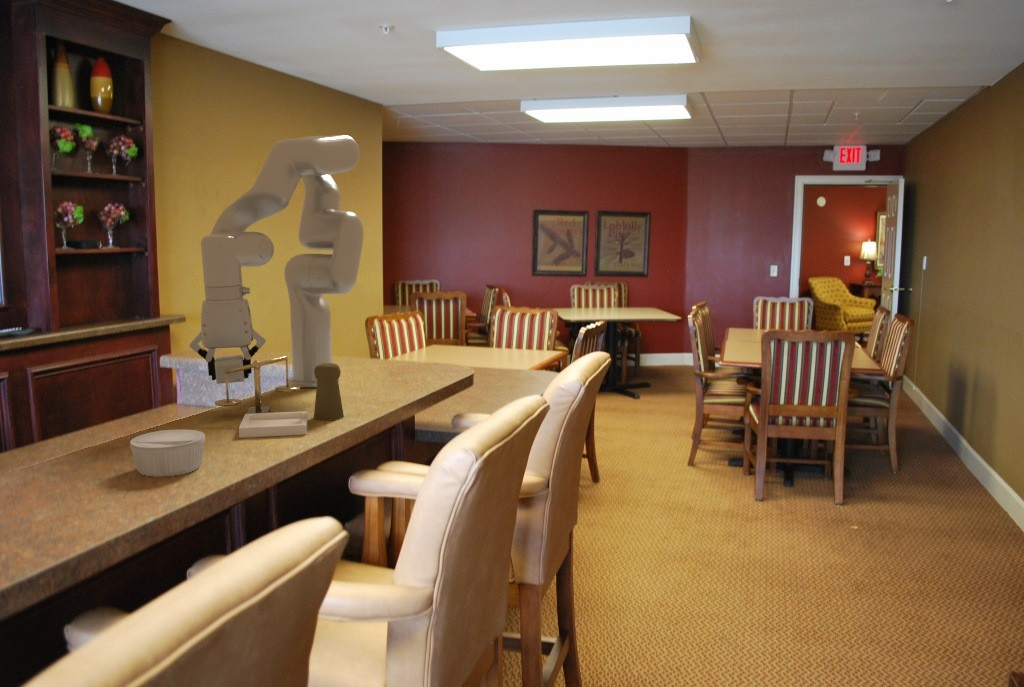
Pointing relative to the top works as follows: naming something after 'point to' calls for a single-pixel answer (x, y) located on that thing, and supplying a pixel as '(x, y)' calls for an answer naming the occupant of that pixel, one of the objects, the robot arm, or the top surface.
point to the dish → (274, 424)
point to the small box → (229, 363)
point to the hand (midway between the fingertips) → (230, 377)
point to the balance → (257, 386)
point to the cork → (328, 392)
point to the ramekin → (168, 452)
